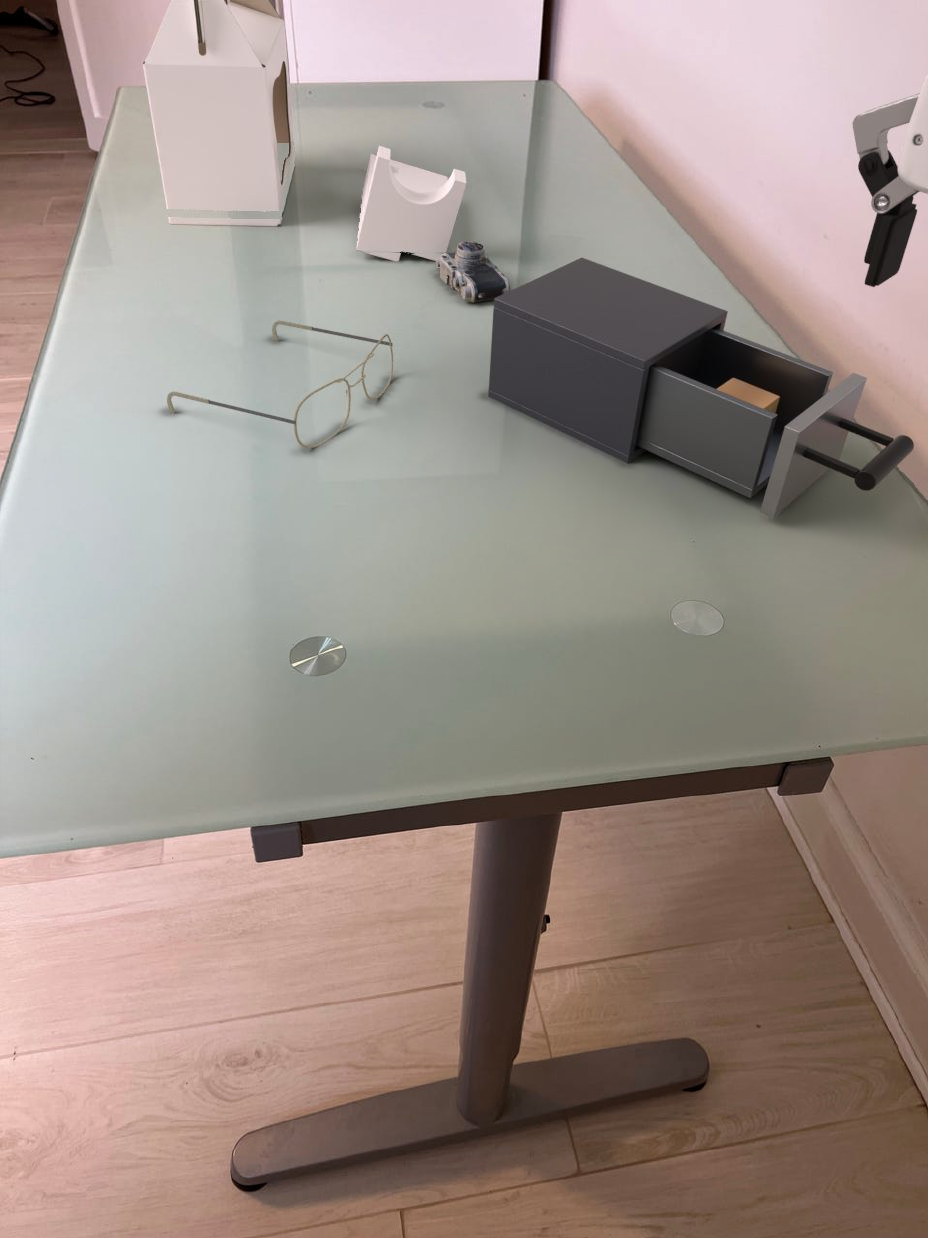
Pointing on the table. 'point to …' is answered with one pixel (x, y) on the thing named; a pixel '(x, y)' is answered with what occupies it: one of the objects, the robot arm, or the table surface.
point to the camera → (472, 273)
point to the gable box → (220, 108)
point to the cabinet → (589, 349)
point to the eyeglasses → (275, 338)
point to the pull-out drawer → (756, 420)
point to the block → (751, 394)
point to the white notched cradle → (407, 208)
